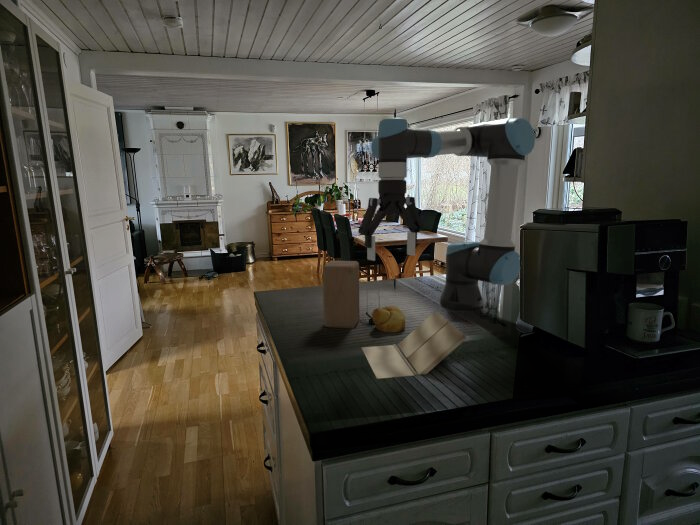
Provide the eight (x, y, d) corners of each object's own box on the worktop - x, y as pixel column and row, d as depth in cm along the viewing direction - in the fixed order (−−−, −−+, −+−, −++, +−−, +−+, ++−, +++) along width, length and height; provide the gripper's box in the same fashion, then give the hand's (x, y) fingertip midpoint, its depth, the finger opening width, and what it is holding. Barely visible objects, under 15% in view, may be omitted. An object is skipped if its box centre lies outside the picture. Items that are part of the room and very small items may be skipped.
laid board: (395, 349, 118) (395, 344, 118) (417, 379, 100) (417, 374, 100) (361, 351, 117) (361, 346, 117) (377, 383, 98) (377, 377, 98)
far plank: (438, 314, 118) (435, 311, 118) (450, 324, 110) (448, 321, 109) (399, 348, 118) (397, 345, 118) (409, 361, 110) (406, 358, 109)
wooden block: (354, 329, 134) (353, 266, 131) (323, 327, 136) (321, 265, 133) (360, 319, 144) (359, 260, 140) (330, 318, 146) (329, 259, 142)
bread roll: (381, 321, 142) (381, 298, 140) (410, 324, 139) (410, 300, 137) (370, 334, 130) (370, 309, 128) (401, 338, 127) (402, 312, 125)
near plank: (451, 325, 109) (449, 322, 109) (467, 337, 100) (464, 334, 100) (410, 362, 109) (407, 359, 109) (422, 377, 100) (418, 374, 100)
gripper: (419, 179, 125) (417, 251, 129) (345, 179, 112) (345, 259, 116) (437, 178, 119) (435, 255, 122) (360, 179, 106) (360, 264, 110)
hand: (391, 257), depth 119 cm, fingers open, 13 cm apart
